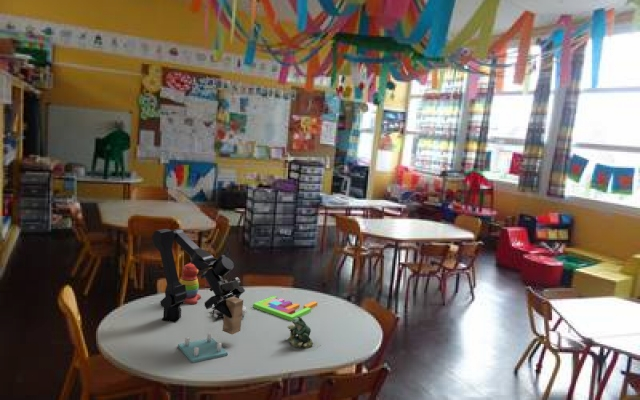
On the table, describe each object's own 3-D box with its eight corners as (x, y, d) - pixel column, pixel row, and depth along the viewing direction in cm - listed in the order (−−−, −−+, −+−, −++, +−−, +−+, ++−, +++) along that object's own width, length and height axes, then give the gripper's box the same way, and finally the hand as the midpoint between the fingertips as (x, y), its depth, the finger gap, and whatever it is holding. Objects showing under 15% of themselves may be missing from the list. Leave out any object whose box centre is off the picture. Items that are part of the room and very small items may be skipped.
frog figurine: (273, 334, 213) (275, 308, 211) (313, 332, 219) (316, 307, 217) (283, 353, 197) (285, 325, 195) (326, 351, 202) (329, 324, 201)
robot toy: (213, 323, 220) (248, 319, 225) (213, 313, 219) (248, 310, 224) (210, 312, 232) (243, 309, 236) (210, 303, 231) (243, 300, 236)
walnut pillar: (222, 330, 200) (225, 299, 199) (230, 327, 205) (233, 296, 203) (232, 334, 198) (235, 302, 196) (240, 331, 202) (243, 299, 200)
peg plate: (178, 346, 193) (178, 336, 193) (212, 340, 202) (212, 330, 201) (191, 362, 182) (192, 352, 182) (227, 355, 190) (228, 345, 190)
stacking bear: (196, 304, 237) (198, 268, 234) (174, 302, 237) (176, 266, 234) (201, 297, 247) (204, 261, 245) (181, 295, 247) (183, 259, 245)
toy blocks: (291, 322, 229) (321, 308, 250) (291, 317, 228) (321, 303, 249) (252, 308, 241) (284, 295, 262) (253, 303, 240) (284, 291, 261)
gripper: (212, 277, 192) (232, 312, 188) (243, 267, 208) (262, 299, 204) (195, 291, 197) (215, 326, 193) (227, 281, 213) (245, 313, 209)
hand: (235, 315), depth 200 cm, fingers closed on walnut pillar, 5 cm apart
